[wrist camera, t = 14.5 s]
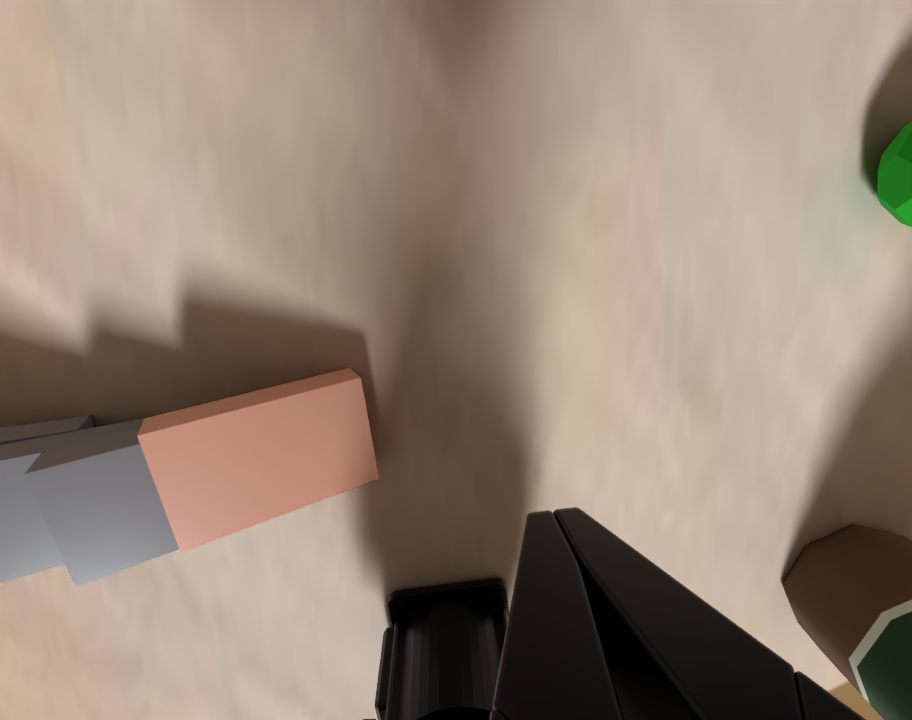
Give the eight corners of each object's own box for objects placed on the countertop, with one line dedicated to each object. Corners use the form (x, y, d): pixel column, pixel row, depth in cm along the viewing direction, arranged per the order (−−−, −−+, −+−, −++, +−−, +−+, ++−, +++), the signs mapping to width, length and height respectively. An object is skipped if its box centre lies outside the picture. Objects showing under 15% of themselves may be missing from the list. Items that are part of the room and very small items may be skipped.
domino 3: (166, 427, 18) (-111, 483, 15) (191, 526, 20) (-57, 599, 16) (170, 413, 20) (-81, 460, 16) (191, 505, 21) (-34, 568, 17)
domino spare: (360, 377, 18) (137, 435, 15) (379, 478, 20) (180, 552, 16) (349, 367, 20) (144, 418, 16) (367, 461, 21) (183, 526, 18)
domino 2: (267, 410, 18) (23, 474, 15) (291, 507, 20) (75, 586, 16) (263, 398, 20) (40, 453, 16) (285, 489, 21) (86, 558, 18)
